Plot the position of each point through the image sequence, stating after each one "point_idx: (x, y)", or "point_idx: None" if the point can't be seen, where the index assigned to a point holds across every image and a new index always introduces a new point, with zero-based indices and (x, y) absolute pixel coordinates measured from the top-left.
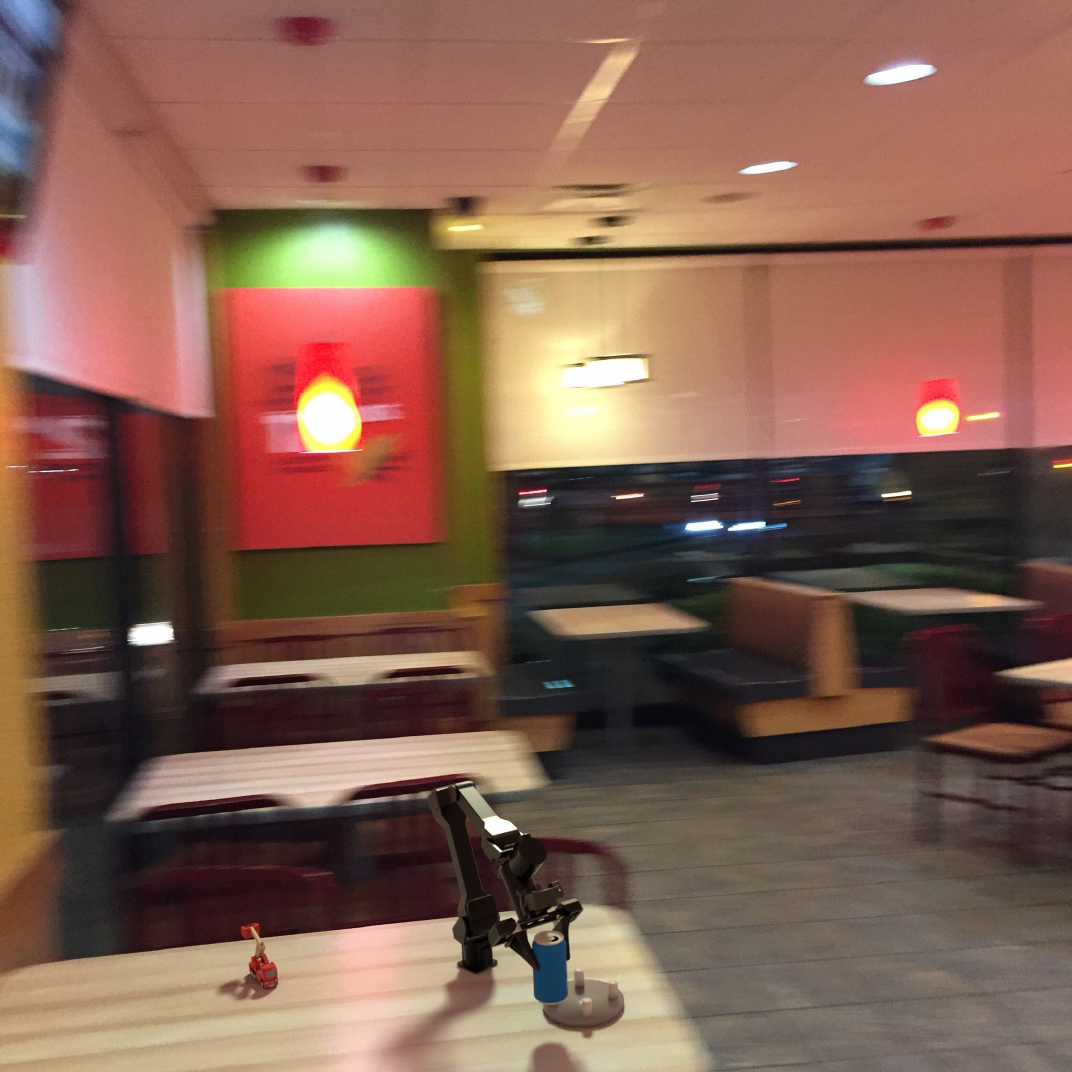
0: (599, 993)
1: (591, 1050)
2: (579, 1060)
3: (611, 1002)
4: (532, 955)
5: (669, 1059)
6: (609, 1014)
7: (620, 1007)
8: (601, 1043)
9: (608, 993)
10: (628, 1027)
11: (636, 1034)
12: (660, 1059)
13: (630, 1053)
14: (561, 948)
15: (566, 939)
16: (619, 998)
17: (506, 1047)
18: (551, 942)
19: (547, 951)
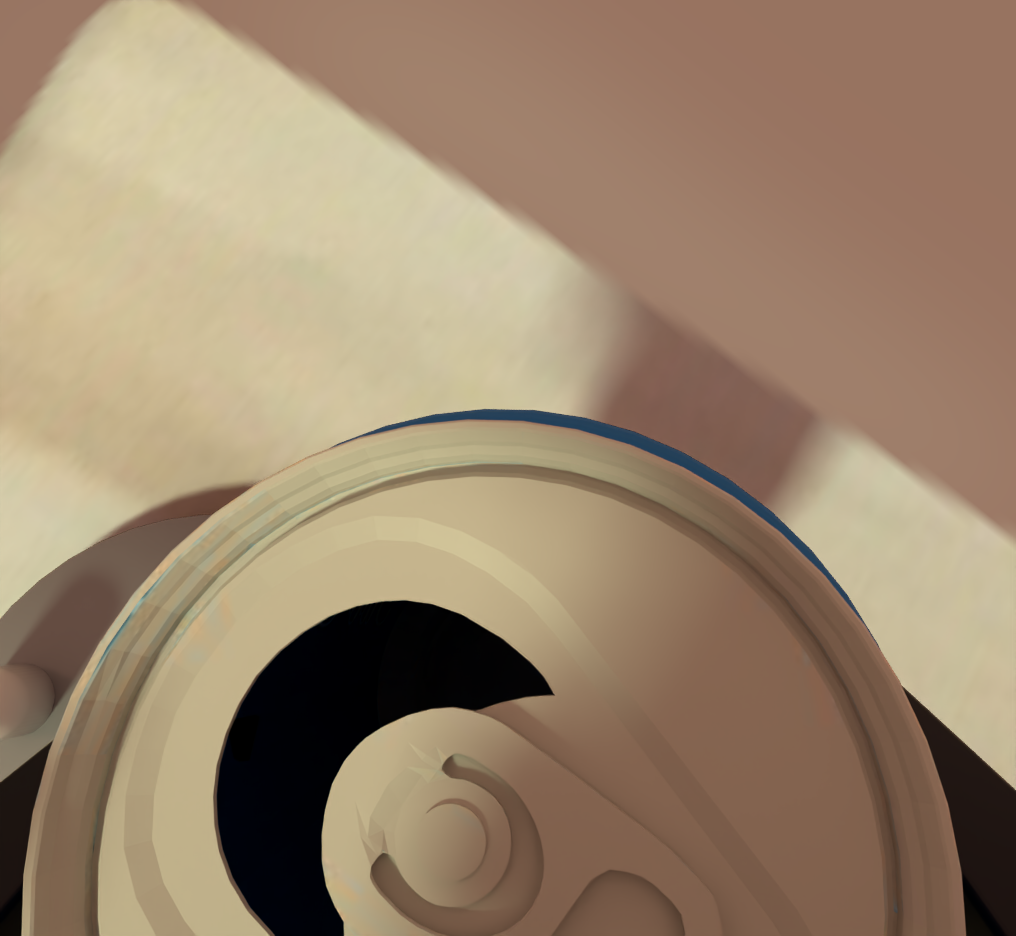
0: None
1: (476, 339)
2: (586, 297)
3: (77, 645)
4: (941, 769)
5: (205, 59)
6: (182, 530)
7: (75, 557)
8: (389, 364)
9: (30, 712)
10: (166, 409)
11: (180, 326)
12: (239, 81)
13: (324, 201)
14: (393, 428)
15: (15, 818)
16: (4, 657)
17: (896, 666)
18: (536, 613)
19: (734, 484)
